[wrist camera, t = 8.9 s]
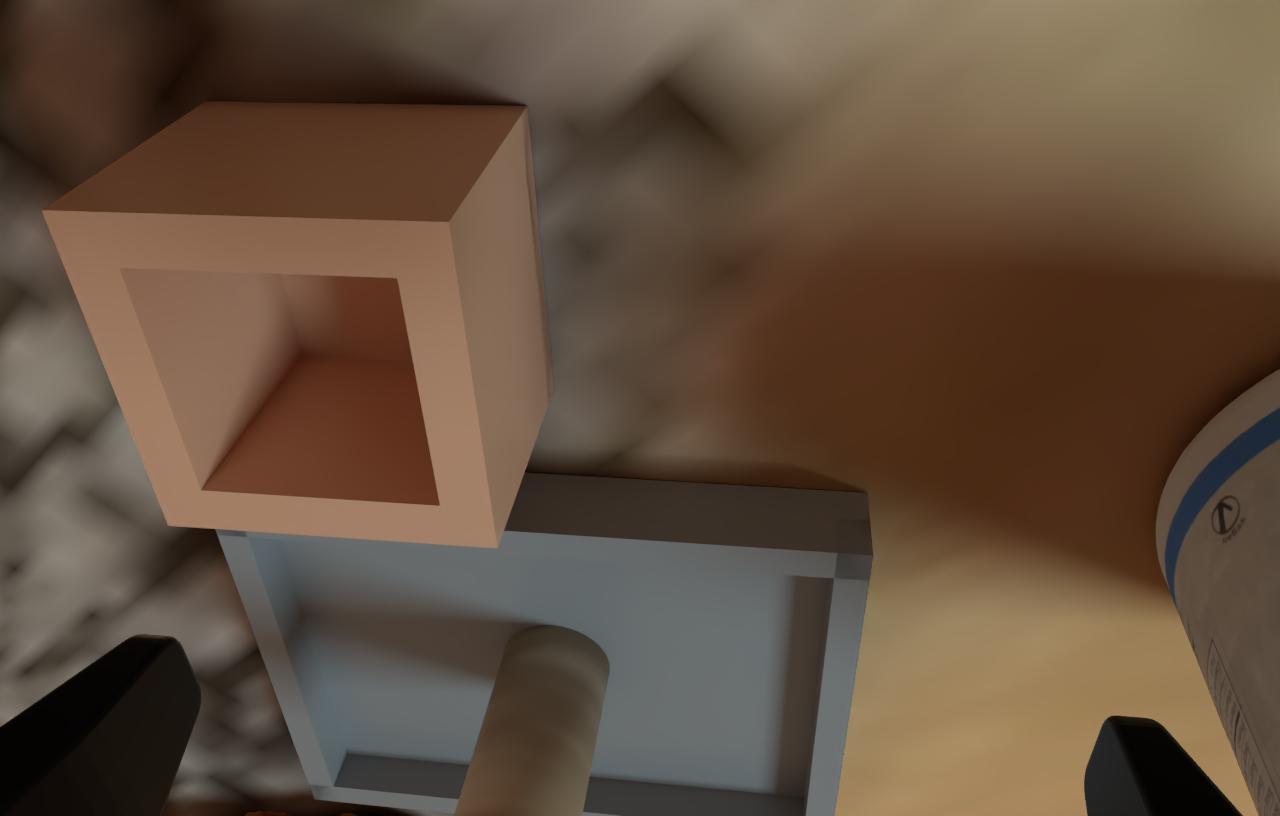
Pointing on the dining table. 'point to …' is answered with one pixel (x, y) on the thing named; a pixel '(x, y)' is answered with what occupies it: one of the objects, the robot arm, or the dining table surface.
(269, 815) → the croissant
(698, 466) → the dining table surface
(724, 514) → the tray
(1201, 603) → the supplement tub
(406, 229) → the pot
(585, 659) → the dowel
